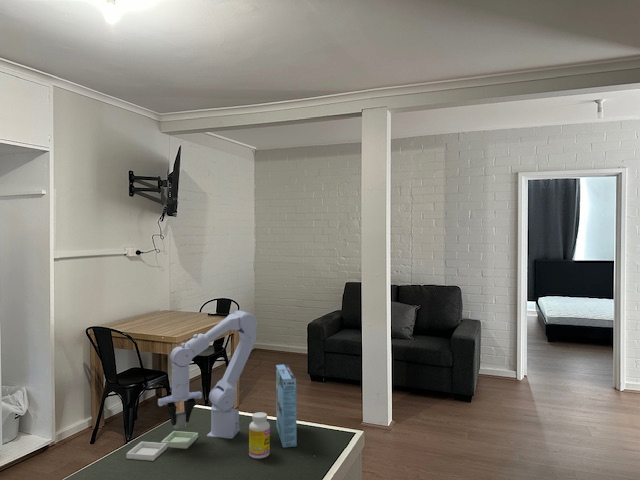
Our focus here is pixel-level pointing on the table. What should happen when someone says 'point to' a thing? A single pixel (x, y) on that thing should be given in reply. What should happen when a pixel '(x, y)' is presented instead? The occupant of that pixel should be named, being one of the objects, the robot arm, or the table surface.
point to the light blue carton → (286, 405)
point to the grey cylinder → (180, 420)
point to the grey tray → (146, 451)
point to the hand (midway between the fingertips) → (180, 422)
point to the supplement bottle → (259, 436)
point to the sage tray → (180, 439)
